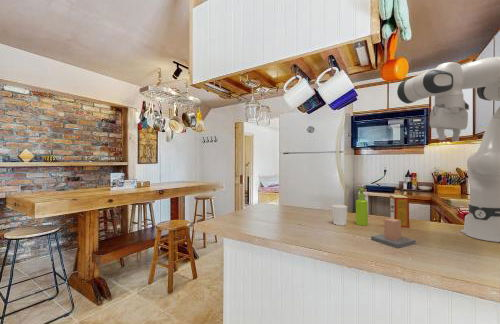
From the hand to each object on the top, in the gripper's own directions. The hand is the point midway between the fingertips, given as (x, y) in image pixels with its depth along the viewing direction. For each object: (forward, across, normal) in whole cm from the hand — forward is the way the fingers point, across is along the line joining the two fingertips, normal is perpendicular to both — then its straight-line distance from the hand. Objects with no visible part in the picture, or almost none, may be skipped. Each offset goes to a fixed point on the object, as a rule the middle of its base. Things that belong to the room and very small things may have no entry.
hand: (448, 140), depth 96 cm
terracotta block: (+42, -11, +16) cm, 46 cm away
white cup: (+43, -9, +48) cm, 65 cm away
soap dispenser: (+43, +1, +42) cm, 60 cm away
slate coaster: (+43, -11, +16) cm, 47 cm away
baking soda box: (+43, +17, +31) cm, 56 cm away
